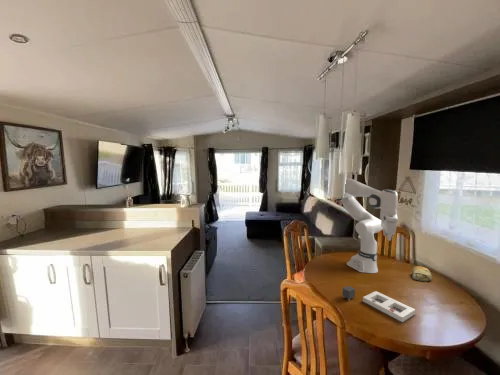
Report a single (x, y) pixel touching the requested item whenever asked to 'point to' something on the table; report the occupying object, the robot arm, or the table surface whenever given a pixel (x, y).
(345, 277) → the table surface
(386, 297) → the socket board
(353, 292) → the plug
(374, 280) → the table surface
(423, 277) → the pastry
